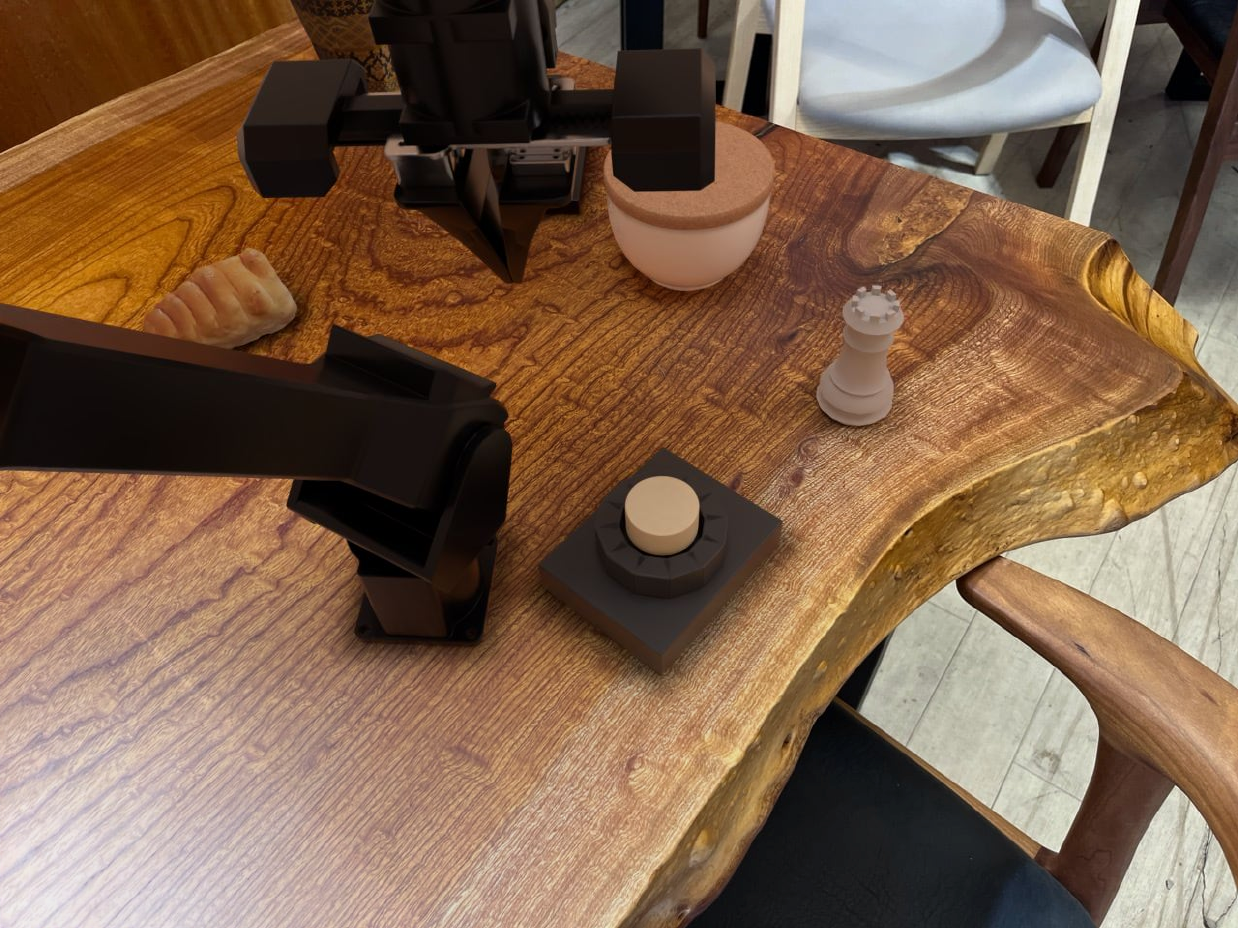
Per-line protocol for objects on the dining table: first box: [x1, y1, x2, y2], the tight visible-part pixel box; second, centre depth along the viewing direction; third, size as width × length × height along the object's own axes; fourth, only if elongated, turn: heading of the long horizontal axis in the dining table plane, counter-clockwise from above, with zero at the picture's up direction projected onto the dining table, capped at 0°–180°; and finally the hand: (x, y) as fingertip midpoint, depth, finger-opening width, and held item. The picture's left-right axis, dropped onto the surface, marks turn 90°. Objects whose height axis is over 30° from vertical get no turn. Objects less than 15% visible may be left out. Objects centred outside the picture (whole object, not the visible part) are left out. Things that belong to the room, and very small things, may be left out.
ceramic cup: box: [289, 0, 400, 93], centre depth 79 cm, size 13×10×10 cm
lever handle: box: [487, 148, 507, 182], centre depth 64 cm, size 15×3×3 cm, turn 176°
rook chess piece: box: [816, 284, 905, 427], centre depth 54 cm, size 4×4×8 cm
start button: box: [625, 476, 699, 556], centre depth 47 cm, size 4×4×2 cm
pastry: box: [142, 247, 298, 350], centre depth 62 cm, size 9×7×4 cm
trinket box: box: [602, 120, 776, 292], centre depth 62 cm, size 11×11×9 cm
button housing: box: [537, 446, 784, 676], centre depth 49 cm, size 10×8×4 cm
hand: (515, 277), depth 46 cm, fingers closed
